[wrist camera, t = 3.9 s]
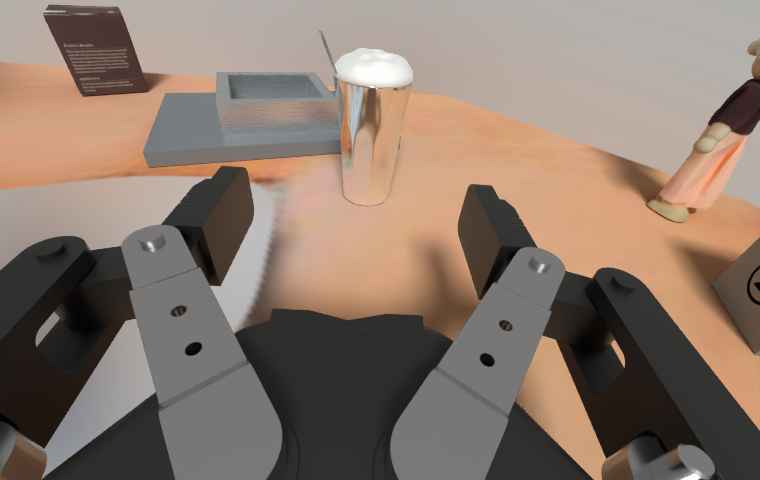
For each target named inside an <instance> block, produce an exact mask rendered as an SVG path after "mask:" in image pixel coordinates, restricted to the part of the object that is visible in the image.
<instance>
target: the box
mask: <svg viewBox="0 0 760 480" xmlns="http://www.w3.org/2000/svg"><path fill="white" fill-rule="evenodd" d="M43 15H44V18H45V20H46V22H47V24H48V26H49V28H50V31H51V33H52V35H53V37H54V39H55V41H56V43H57V45H58V47H59V49H60V51H61V53H62V55H63V58H64V60H65V62H66V64H67V66H68V68H69V70H70V73H71V75H72V77H73V79H74V81H75V83H76V85H77V87H78V89H79V91H80V93H81V94H82V96H90V95H101V94H114V93H128V92H146V91H147V90H148V89H147V86H146V83H145V79H144V76H143V73H142V70H141V67H140V64H139V61H138V58H137V55H136V52H135V50H134V47H133V44H132V41H131V38H130V35H129V32H128V29H127V27H126V24H125V21H124V19H123V16H122V14H121V12H120V10H119V8H118V7H98V6H71V5H48V7H47V9H46V10H45V11H44V14H43Z"/></svg>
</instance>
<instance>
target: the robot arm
mask: <svg viewBox="0 0 760 480" xmlns="http://www.w3.org/2000/svg"><path fill="white" fill-rule="evenodd" d="M253 216H254V205H253V199H252V193H251V188H250V182H249V177H248V172H247V170H246V168H244V167H232V166H221V167H220V168H219V170H218V171H217V172H216V173H215V175H214V176H213V177H212V178H211V179H205V180H203V181H201V182H200V183H198V184H196V185H194V186H193V187H192V188H191V190H190V191H189V192H188V193H187V196H185V197H184V198H183V199H182V200H181V203H180V204H178V205H177V206H176V207H175V209H174V210H173V211H172V212H171V213H170V214H169V216H168V217H167V218H166V219H165V220H164V222H163V223H162V224H161V225H155V226H149V227H145V228H142V229H140V230H137V231H135V232H133V233H132V234H131V235H129V236H128V237H127V238H126V239H125V240H124V241H123V243H122V246H119V247H112V248H105V249H98V250H90V249H89V247H88V246H87V244H86V243H85V241H84V240H83V239H81V238H79V237H75V236H62V237H55V238H50V239H47V240H44V241H41V242H38V243H36V244H34V245H32V246H30V247H28V248H27V249H25V250H24V251H22V252H21V253H20V254H19V255H18V256H16V257H15V258H14V259H13V260H12V261H11V262H10V263H8V264H7V265H6V266H5V267H4V268H2V270H0V480H593V479H592V478H591V477H590V476H589V475H588V474H587V473H586V472H585V471H584V470H583V469H582V468H581V467H580V466H579V465H578V464H577V463H576V462H575V461H574V460H573V459H572V458H571V457H570V456H569V455H568V454H567V453H566V452H565V451H564V450H563V449H562V448H561V447H560V446H559V445H558V444H557V443H556V442H555V441H554V440H553V439H552V438H551V437H550V436H549V435H548V434H547V433H546V432H545V431H544V430H543V429H542V428H541V427H540V426H539V425H538V424H537V423H536V422H535V421H534V420H533V419H532V418H531V417H530V416H529V415H528V414H527V413H526V412H525V411H524V410H523V409H522V408H521V407H520V406H519V405H518V404H517V403H516V402H515V399H516V396H517V394H518V392H519V389H520V387H521V384H522V382H523V380H524V377H525V375H526V372H527V370H528V368H529V365H530V363H531V360H532V358H533V356H534V353H535V351H536V349H537V346H538V344H539V341H540V339H541V337H542V335H543V336H546V337H549V338H552V339H555V340H556V341H557V343H558V346H559V348H560V351H561V353H562V355H563V358H564V360H565V362H566V365H567V367H568V369H569V372H570V374H571V377H572V379H573V381H574V384H575V386H576V388H577V391H578V393H579V395H580V398H581V400H582V403H583V405H584V407H585V410H586V412H587V414H588V417H589V419H590V421H591V424H592V426H593V429H594V431H595V433H596V436H597V438H598V440H599V443H600V445H601V447H602V450H603V452H604V455H605V457H606V460H605V461H604V463H603V466H602V480H760V431H759V429H758V428H757V427H756V425H755V424H754V423H753V422H752V420H751V419H750V418H749V417H748V415H747V414H746V413H745V411H744V410H743V409H742V408H741V406H740V405H739V404H738V403H737V401H736V400H735V399H734V397H733V396H732V395H731V394H730V392H729V391H728V390H727V388H726V387H725V386H724V385H723V383H722V382H721V381H720V380H719V378H718V377H717V376H716V374H715V373H714V372H713V371H712V369H711V368H710V367H709V366H708V364H707V363H706V362H705V360H704V359H703V358H702V357H701V355H700V354H699V353H698V352H697V350H696V349H695V348H694V346H693V345H692V344H691V343H690V341H689V340H688V339H687V338H686V336H685V335H684V334H683V332H682V331H681V330H680V329H679V327H678V326H677V325H676V323H675V322H674V321H673V320H672V318H671V317H670V316H669V315H668V313H667V312H666V311H665V309H664V308H663V307H662V306H661V304H660V303H659V302H658V301H657V299H656V298H655V297H654V295H653V294H652V293H651V292H650V290H649V289H648V288H647V287H646V285H645V284H644V283H642V282H641V281H640V280H639V279H638V278H636V277H634V276H633V275H631V274H629V273H627V272H625V271H622V270H619V269H615V268H601V269H599V270H598V271H597V272H596V273H595V275H594V276H593V278H589V277H585V276H581V275H578V274H574V273H571V272H567V271H565V266H564V264H563V263H562V261H561V260H560V259H559V258H558V257H556V256H555V255H554V254H552V253H550V252H548V251H546V250H543V249H540V248H537V246H536V244H535V242H534V241H533V239H532V237H531V236H530V234H529V232H528V231H527V229H526V227H525V226H524V224H523V222H522V220H521V219H519V215H518V213H517V212H516V210H515V208H514V207H512V206H511V205H510V204H509V203H508V202H506V201H505V200H501V199H499V198H498V196H497V194H496V192H495V190H494V188H493V187H492V186H491V185H477V184H471V185H470V186H469V187H468V189H467V193H466V196H465V200H464V203H463V207H462V210H461V213H460V217H459V221H458V235H459V238H460V242H461V245H462V248H463V251H464V254H465V257H466V261H467V264H468V267H469V270H470V273H471V276H472V280H473V283H474V286H475V289H476V292H477V296H478V299H479V300H481V302H480V303H479V305H478V306H477V308H476V309H475V311H474V312H473V314H472V315H471V317H470V318H469V320H468V321H467V323H466V324H465V326H464V327H463V329H462V330H461V332H460V333H459V335H458V336H457V338H456V339H455V340H454V341H452V340H451V339H449V338H448V337H446V336H445V335H443V334H441V333H439V332H436V331H434V330H431V329H429V328H425V327H424V325H423V317H422V316H419V315H397V314H384V315H378V316H372V317H366V318H360V319H354V320H344V319H340V318H337V317H333V316H329V315H325V314H322V313H318V312H314V311H310V310H288V309H273V311H272V314H271V317H270V320H269V321H264V322H261V323H257V324H254V325H251V326H248V327H246V328H244V329H242V330H240V331H238V332H236V333H233V331H232V329H231V327H230V325H229V323H228V321H227V320H226V317H225V315H224V313H223V311H222V309H221V307H220V305H219V303H218V302H217V300H216V298H215V295H214V294H213V292H212V290H211V288H210V286H221V284H222V282H223V280H224V278H225V276H226V274H227V272H228V270H229V268H230V266H231V264H232V262H233V260H234V258H235V255H236V254H237V252H238V250H239V248H240V245H241V243H242V241H243V239H244V237H245V235H246V233H247V231H248V229H249V227H250V225H251V223H252V220H253ZM209 285H210V286H209ZM53 312H55V313H56V314H57V315H58V316H59V318H60V319H59V321H58V322H57V323H56V324H55V325H54V327H53V328H52V329H51V330H50V331H49V333H48V334H47V335H46V336H45V338H44V339H43V340H42V341H41V342H40V344H39V345H38V346H37V347H36V344H35V339H36V335H37V332H38V330H39V329H40V327H41V326H42V325H43V324H44V323H45V321H46V320H47V319H48V318H49V317H50V316H51V314H52V313H53ZM131 319H136V320H137V324H138V328H139V331H140V335H141V339H142V342H143V346H144V349H145V353H146V357H147V361H148V364H149V368H150V372H151V375H152V379H153V383H154V386H155V390H156V392H155V393H154V394H153V395H151V396H150V397H149V398H147V399H146V400H145V401H143V402H142V403H141V404H139V405H138V406H137V407H136V408H134V409H133V410H132V411H130V412H129V413H128V414H126V415H125V416H124V417H123V418H121V419H120V420H118V421H117V422H116V423H115V424H113V425H112V426H111V427H109V428H108V429H107V430H105V431H104V432H103V433H101V434H100V435H99V436H98V437H96V438H95V439H93V440H92V441H91V442H90V443H88V444H87V445H86V446H84V447H83V448H82V449H80V450H79V451H78V452H76V453H75V454H74V455H72V456H71V457H70V458H68V459H67V460H66V461H65V462H63V463H62V464H61V465H59V466H58V467H57V468H55V469H54V470H53V471H52V472H50V473H49V474H48V475H46V476H45V477H44V478H43V479H41V478H42V476H43V474H44V472H45V468H46V464H47V455H46V453H45V450H44V448H45V447H46V445H47V444H48V442H49V440H50V439H51V437H52V436H53V434H54V433H55V431H56V429H57V428H58V426H59V425H60V423H61V421H62V420H63V418H64V417H65V415H66V414H67V412H68V411H69V409H70V407H71V406H72V404H73V403H74V401H75V399H76V398H77V396H78V395H79V393H80V392H81V390H82V388H83V387H84V385H85V384H86V382H87V381H88V379H89V377H90V376H91V374H92V373H93V371H94V369H95V368H96V366H97V365H98V363H99V362H100V360H101V359H102V357H103V355H104V354H105V352H106V351H107V349H108V347H109V346H110V344H111V343H112V341H113V340H114V338H115V336H116V335H117V333H118V332H119V330H120V329H121V327H122V325H123V324H124V322H125V321H126V320H131ZM614 340H616V342H617V344H618V345H619V347H620V349H621V350H622V352H623V354H624V358H625V368H624V367H623V365H622V363H621V361H620V360H619V358H618V356H617V354H616V353H615V351H614V349H613V347H612V346H611V343H612V342H613V341H614Z"/></svg>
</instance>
